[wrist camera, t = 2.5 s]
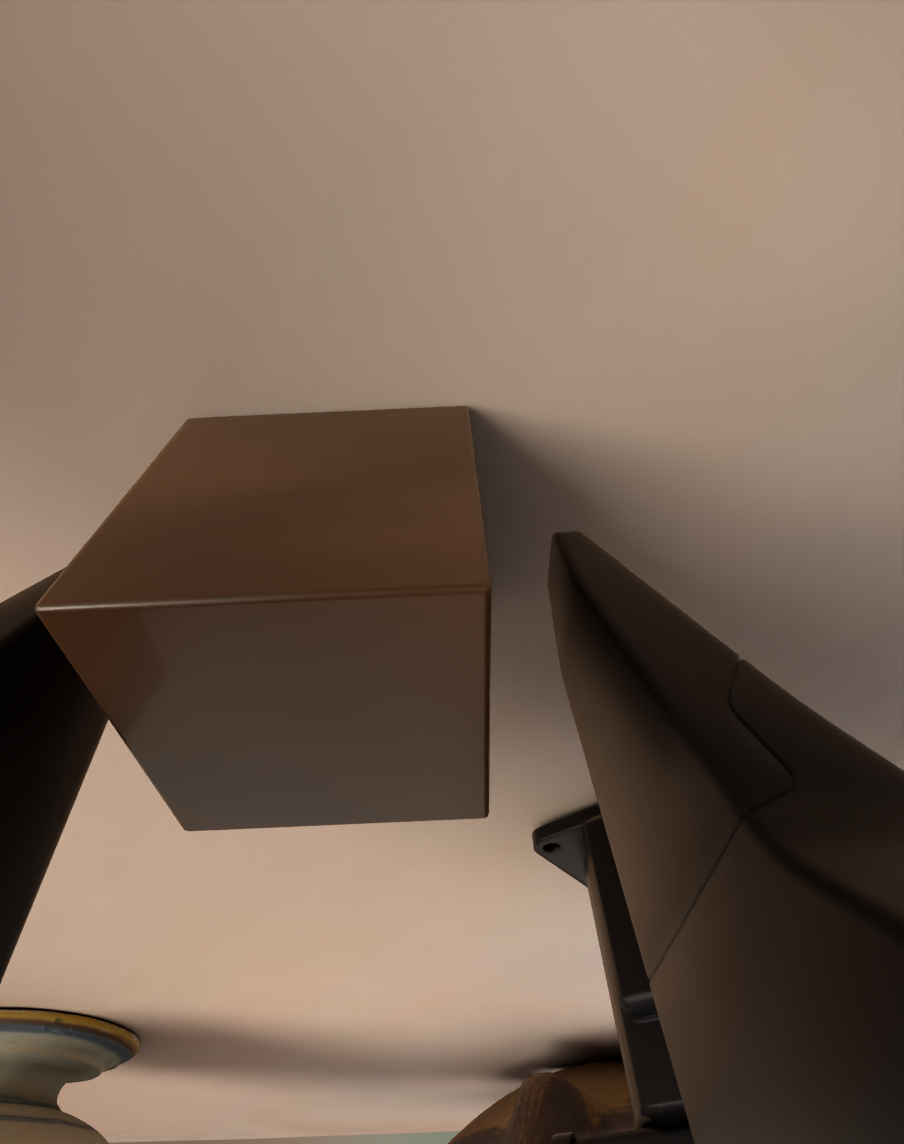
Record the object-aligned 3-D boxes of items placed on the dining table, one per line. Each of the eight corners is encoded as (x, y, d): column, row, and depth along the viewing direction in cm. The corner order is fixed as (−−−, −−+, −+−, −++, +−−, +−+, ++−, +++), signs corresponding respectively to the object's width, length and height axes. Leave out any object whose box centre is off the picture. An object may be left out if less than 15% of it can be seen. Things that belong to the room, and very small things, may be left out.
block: (468, 404, 8) (492, 587, 5) (472, 611, 11) (489, 819, 8) (186, 416, 8) (28, 608, 5) (258, 621, 11) (182, 834, 8)
